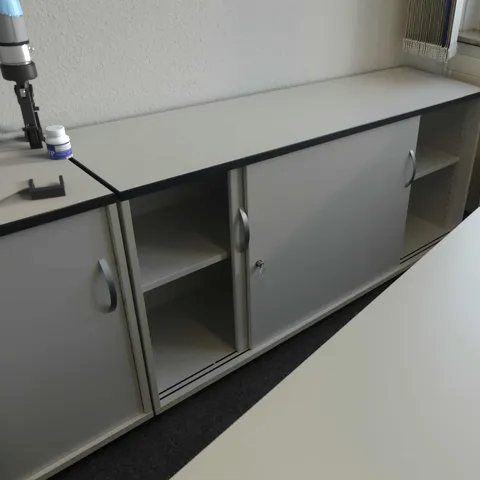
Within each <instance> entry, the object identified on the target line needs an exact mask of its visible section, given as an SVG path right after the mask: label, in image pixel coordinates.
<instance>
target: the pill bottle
mask: <svg viewBox="0 0 480 480" xmlns="http://www.w3.org/2000/svg"><path fill="white" fill-rule="evenodd" d="M45 133H46V136H45V137H44V143H45V146H46V151H47V153H48V158H49V159H50V160H53V161H62V160H63V161H64V160H68V159H70V158H72V157H73V156H74V154H73V150H72V145H71V139H70V137H69V135H67V134H66V130H65V126H63V125H61V124H60V125H59V124H56V125H55V124H54V125H48V126H46V127H45Z"/></svg>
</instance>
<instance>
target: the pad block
mask: <svg viewBox="0 0 480 480" xmlns="http://www.w3.org/2000/svg"><path fill="white" fill-rule="evenodd" d="M38 129H39V133H40V137H41V141H42V142H43V141H44V142H45V136H44V131H43V127H42V126H41V127H38ZM23 132H24V133H23V135H24V139H25V142H26V143H29V140H28V136H27V133H26V131H23Z"/></svg>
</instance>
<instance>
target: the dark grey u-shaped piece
mask: <svg viewBox="0 0 480 480" xmlns="http://www.w3.org/2000/svg"><path fill="white" fill-rule="evenodd" d="M58 179H59V180H58V181H59V184H55V185H48V186H40V187H39V186H38V187H36V185H35V183H34V179H33V178H29V179H28V183H29V184H28V186H29V187H28V188H29V189H28V190H29V196H30V199H31V201H37V200H45V199H51V198H58V197H66V196H67V195H66V187H65V181H64V177H63V175H62V174H61V175H58Z"/></svg>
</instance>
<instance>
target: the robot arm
mask: <svg viewBox="0 0 480 480" xmlns="http://www.w3.org/2000/svg"><path fill="white" fill-rule="evenodd" d="M24 17H25V16H24V11H23V9H22V6H21V3H20V0H0V73H1V77H2V79H3V80H5V81H7V82H14V83H15V84H13V91H14V94H15V96H16V100H17V104H18V105H19V108H20V111H21V115H22V121H23V124H24V125H23V126H24V127H21V130H22V132H24V131H26V133H27V136H28V140H29V142H28V143H29V148H30V150H41V149H44V146H43V145H44V144H43V141H41V137H40V133H39V129H38V127H42V126H41V125H42V124H41V121H40V117H39V113H38V111H40V110H41V109H40V106H37V105H36V106H35V103H36V102H34V101H35V98H34V97H35V94H34V87H33V83H30V81H32V80H35V79H37V78H38V74H39V73H38V71H37V67H36V63H35V62H34V56H33V52H34V51H35V48H34V46H31V44H30V40H29V39H30V38H29V35H28V31H27V25H26V22H25V18H24ZM33 98H34V99H33Z"/></svg>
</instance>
